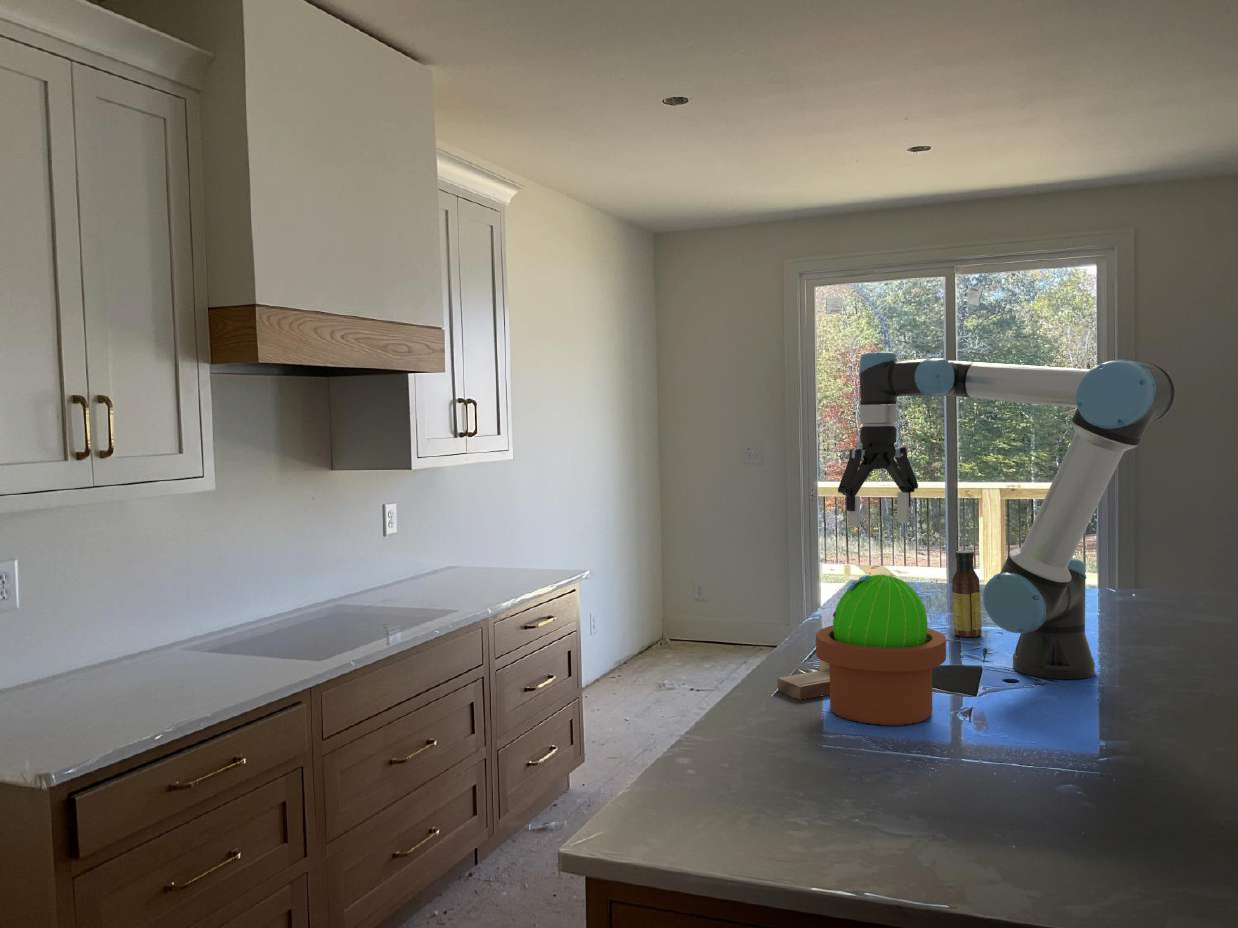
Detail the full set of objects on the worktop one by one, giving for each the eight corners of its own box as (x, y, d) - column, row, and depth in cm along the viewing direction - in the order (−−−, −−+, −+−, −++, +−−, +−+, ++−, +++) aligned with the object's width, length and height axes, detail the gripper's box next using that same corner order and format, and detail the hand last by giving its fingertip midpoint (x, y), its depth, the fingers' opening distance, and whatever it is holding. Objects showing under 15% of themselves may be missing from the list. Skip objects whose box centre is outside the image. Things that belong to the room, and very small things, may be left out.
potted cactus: (957, 702, 175) (957, 565, 174) (929, 738, 157) (928, 585, 155) (839, 687, 187) (838, 558, 185) (799, 719, 168) (797, 576, 166)
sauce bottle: (977, 632, 230) (977, 549, 229) (985, 638, 224) (984, 552, 223) (949, 632, 231) (949, 549, 230) (956, 638, 225) (955, 553, 224)
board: (891, 682, 189) (891, 669, 189) (800, 700, 179) (800, 686, 179) (867, 674, 195) (866, 662, 195) (777, 690, 185) (777, 677, 185)
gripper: (909, 423, 216) (910, 518, 217) (820, 426, 204) (821, 526, 205) (934, 423, 209) (935, 521, 210) (843, 426, 198) (844, 530, 199)
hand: (879, 524), depth 208 cm, fingers open, 13 cm apart
